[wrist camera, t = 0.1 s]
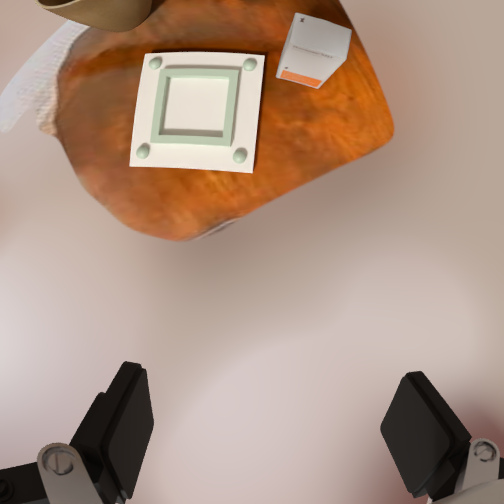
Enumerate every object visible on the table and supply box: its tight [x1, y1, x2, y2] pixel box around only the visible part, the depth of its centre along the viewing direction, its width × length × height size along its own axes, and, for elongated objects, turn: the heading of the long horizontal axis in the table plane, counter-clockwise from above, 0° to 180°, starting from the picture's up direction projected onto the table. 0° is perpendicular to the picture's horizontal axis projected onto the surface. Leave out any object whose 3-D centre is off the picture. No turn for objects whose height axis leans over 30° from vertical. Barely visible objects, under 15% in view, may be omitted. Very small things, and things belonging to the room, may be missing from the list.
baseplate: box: [130, 52, 265, 173], centre depth 34 cm, size 16×16×3 cm
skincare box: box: [276, 13, 352, 89], centre depth 28 cm, size 6×4×12 cm
